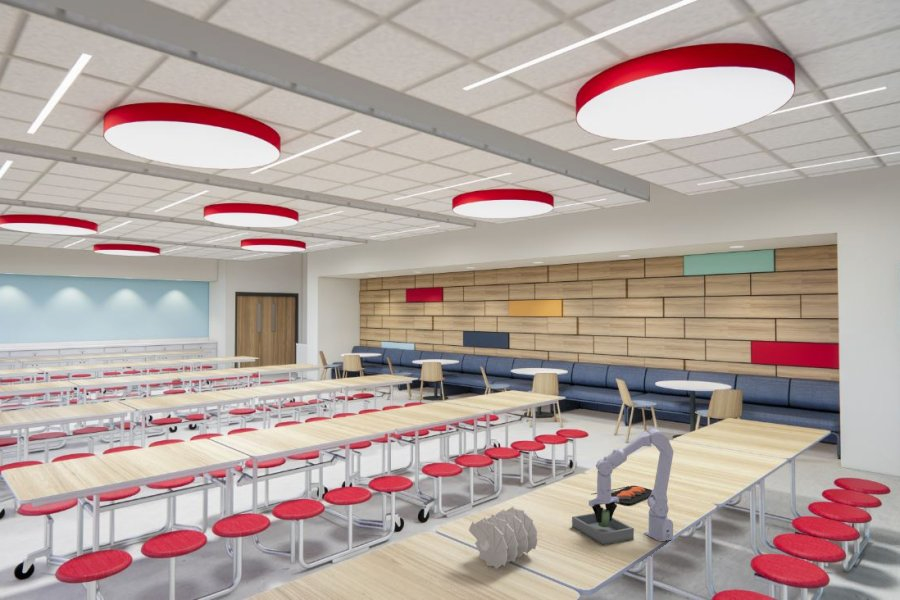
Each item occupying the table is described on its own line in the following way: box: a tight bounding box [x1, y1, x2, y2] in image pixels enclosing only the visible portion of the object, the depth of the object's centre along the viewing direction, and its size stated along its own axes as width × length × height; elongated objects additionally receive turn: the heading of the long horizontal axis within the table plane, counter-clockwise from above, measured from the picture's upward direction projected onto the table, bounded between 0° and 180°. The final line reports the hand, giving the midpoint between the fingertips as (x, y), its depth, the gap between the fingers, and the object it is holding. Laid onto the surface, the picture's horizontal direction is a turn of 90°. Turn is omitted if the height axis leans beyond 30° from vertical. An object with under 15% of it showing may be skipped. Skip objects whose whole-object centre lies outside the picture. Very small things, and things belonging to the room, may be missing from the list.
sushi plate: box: [592, 485, 653, 505], centre depth 279 cm, size 29×30×4 cm
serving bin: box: [571, 512, 635, 546], centre depth 226 cm, size 20×16×4 cm
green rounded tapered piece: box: [598, 508, 610, 527], centre depth 227 cm, size 5×5×6 cm
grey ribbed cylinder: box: [468, 506, 539, 570], centre depth 201 cm, size 18×18×25 cm
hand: (603, 521), depth 227 cm, fingers closed on green rounded tapered piece, 5 cm apart
